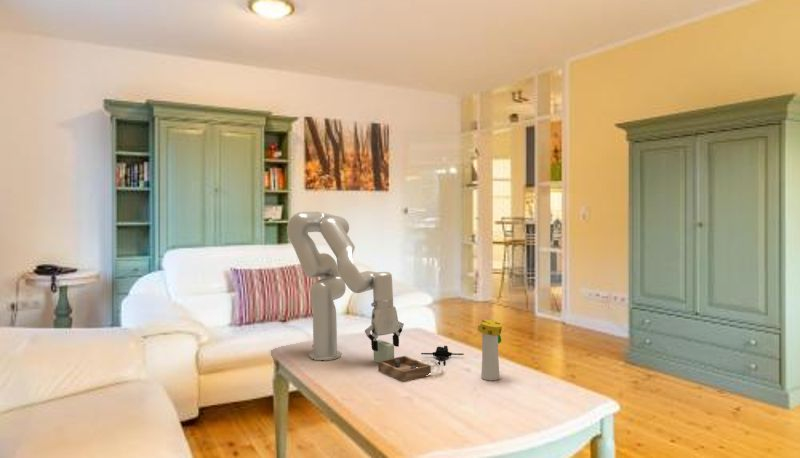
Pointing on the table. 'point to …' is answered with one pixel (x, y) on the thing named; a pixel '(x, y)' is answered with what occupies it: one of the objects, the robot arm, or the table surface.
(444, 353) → the toy
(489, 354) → the toy
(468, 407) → the table surface
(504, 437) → the table surface
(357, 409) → the table surface
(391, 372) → the brown wooden shallow tray
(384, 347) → the light green rectangular block
